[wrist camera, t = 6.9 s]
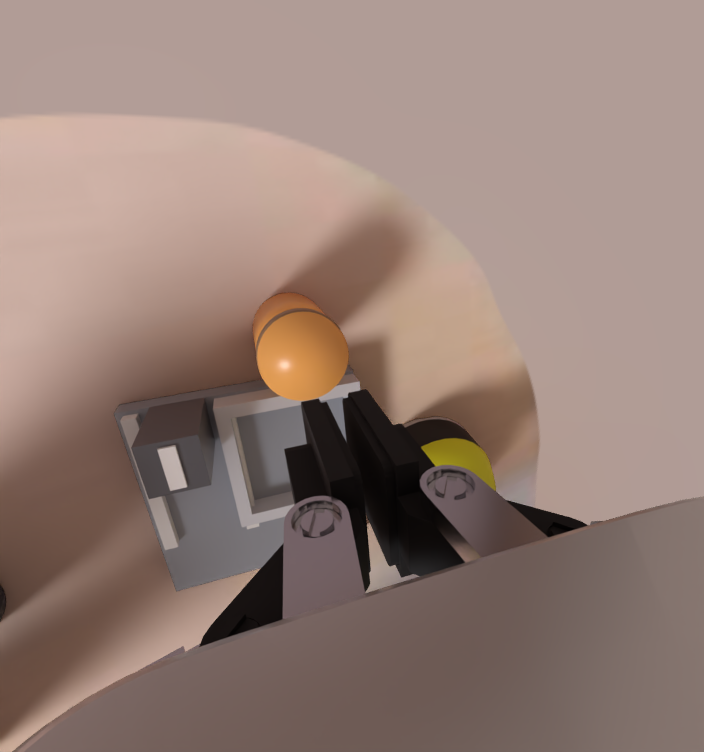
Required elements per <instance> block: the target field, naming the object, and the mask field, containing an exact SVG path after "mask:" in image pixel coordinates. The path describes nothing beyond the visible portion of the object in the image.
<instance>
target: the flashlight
mask: <svg viewBox="0 0 704 752" xmlns="http://www.w3.org/2000/svg"><path fill="white" fill-rule="evenodd" d="M403 426H404V427H405V428H406V429H407V431H408V432H409V433H410V434H411V436H412V437H413V438H414V439H415V441H416V442H417V443H418V444H419V446H420V447H421V448H422V450H423V451H424V452H425V453H426V455H427V456H428V457H429V458H430V460H431V461H432V462H433V464H434V465H435V466H440V465H454V466H460V467H463V468H466V469H468V470H470V471H471V472H473V473H475V474H476V475H477V476H478V477H479V478H481V479H482V480H483V481H484V482H485V483H486V484H487V485H489V486H490V487H491V488H492V489H493V490H494V491H496V486H495V480H494V476H493V472H492V468H491V464H490V461H489V459H488V457H487V455H486V453H485V452H484V451H483V450H482V449H481V447H480V446H479V445H478V444H477V443H476V442H475V440H474V439H473V438H472V437H471V436H470V435H469V434H468V432H467V431H466V430H465V429H464V428H463V427H462V426H461V425H460V424H458V423H457V422H455V421H453V420H451V419H448V418H444V417H438V416H435V417H429V418H422V419H415V420H412V421H410V422H408V423H405V424H403Z"/></svg>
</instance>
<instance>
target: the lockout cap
mask: <svg viewBox="0 0 704 752" xmlns="http://www.w3.org/2000/svg"><path fill="white" fill-rule="evenodd" d="M253 336H254V342H255V349H256V361H257V366H258V370H259V372H260V374H261V376H262V378H263V380H264V382H265V383H266V384H267V386H268V387H269V388H270V389H271V390H272V391H274V392H275V393H276V394H278V395H280V396H282V397H284V398H287V399H291V400H297V401H306V400H312V399H316V398H318V397H321V396H323V395H325V394H327V393H328V392H330V391H331V390H332V389H333V388H334V387H335V386H336V385H337V384H338V383H339V382H340V380H341V379H342V377H343V376H344V374H345V371H346V369H347V365H348V359H349V351H348V346H347V342H346V340H345V337H344V335H343V333H342V332H341V330H340V329H339V327H338V326H337V325H336V324H335V323H334V322H333V321H332V320H331V319H330V318H329V317H328V316H326V315H325V314H324V313H323V312H322V311H321V310H320V308H319V307H318V306H317V305H316V304H315V303H314V302H313V301H311V300H310V299H309V298H307V297H305V296H303V295H300V294H296V293H281V294H278V295H275V296H273V297H271V298H269V299H268V300H266V301H265V302H264V303H263V304H262V305H261V306H260V307H259V309H258V310H257V312H256V314H255V317H254V320H253Z"/></svg>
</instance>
